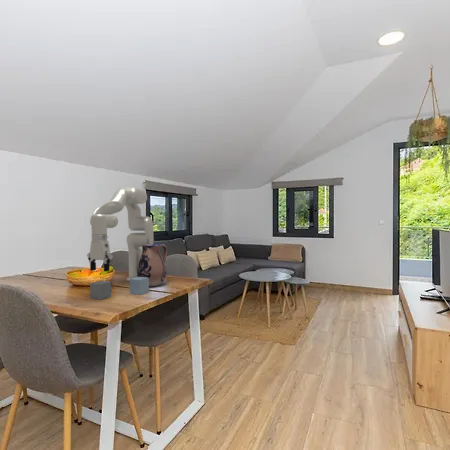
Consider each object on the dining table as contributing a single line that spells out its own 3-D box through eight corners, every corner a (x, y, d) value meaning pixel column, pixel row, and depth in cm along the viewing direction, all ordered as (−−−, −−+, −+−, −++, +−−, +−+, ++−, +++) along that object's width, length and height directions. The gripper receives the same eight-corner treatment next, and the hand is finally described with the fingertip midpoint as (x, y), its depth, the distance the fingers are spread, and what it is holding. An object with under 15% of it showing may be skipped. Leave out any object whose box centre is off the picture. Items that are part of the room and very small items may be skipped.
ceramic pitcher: (130, 286, 186) (130, 245, 186) (154, 280, 205) (153, 242, 204) (153, 289, 178) (152, 246, 177) (175, 282, 197) (174, 243, 196)
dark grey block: (101, 295, 166) (101, 280, 166) (111, 296, 163) (110, 281, 163) (90, 298, 160) (90, 283, 160) (100, 299, 157) (100, 284, 157)
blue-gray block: (138, 290, 176) (138, 276, 175) (148, 291, 173) (148, 277, 172) (130, 293, 169) (129, 279, 169) (140, 294, 166) (139, 280, 166)
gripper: (117, 237, 160) (117, 270, 160) (93, 237, 168) (93, 268, 168) (106, 238, 154) (106, 272, 154) (81, 238, 161) (82, 270, 161)
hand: (99, 270), depth 161 cm, fingers open, 9 cm apart
